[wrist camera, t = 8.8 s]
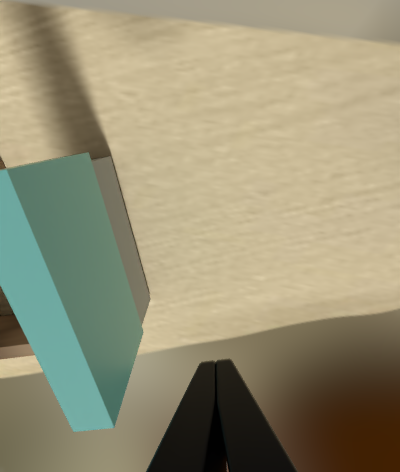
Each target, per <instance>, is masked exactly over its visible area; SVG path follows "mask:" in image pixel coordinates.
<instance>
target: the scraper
mask: <svg viewBox="0 0 400 472" xmlns="http://www.w3.org/2000/svg"><path fill="white" fill-rule="evenodd" d="M0 286H1V288H2V290H3V292H4V294H5V296H6V298H7V300H8V302H9V304H10V306H11V308H12V310H13V312H14V314H15V316H16V318H17V320H18V322H19V324H20V326H21V328H22V330H23V332H24V334H25V336H26V338H27V340H28V342H29V344H30V346H31V348H32V350H33V352H34V354H35V356H36V358H37V360H38V362H39V364H40V366H41V368H42V370H43V372H44V374H45V376H46V378H47V380H48V382H49V384H50V386H51V388H52V390H53V391H54V394H55V396H56V398H57V399H58V402H59V404H60V406H61V408H62V410H63V412H64V414H65V415H66V417H67V420H68V422H69V424H70V426H71V428H72V430H73V431H74V432H76V431H86V430H96V429H106V428H114V427H115V423H116V420H117V417H118V414H119V410H120V407H121V404H122V400H123V397H124V394H125V390H126V387H127V384H128V381H129V377H130V374H131V371H132V368H133V364H134V361H135V358H136V355H137V351H138V348H139V345H140V342H141V338H142V335H143V329H142V323H143V320H144V317H145V314H146V311H147V308H148V305H149V302H150V295H149V292H148V288H147V285H146V281H145V277H144V274H143V270H142V267H141V263H140V259H139V256H138V252H137V249H136V245H135V242H134V238H133V234H132V231H131V227H130V224H129V220H128V216H127V213H126V209H125V206H124V202H123V198H122V195H121V191H120V188H119V184H118V180H117V177H116V173H115V170H114V166H113V162H112V159H111V156H108V157H103V158H97V159H92V160H91V158H90V155H89V152H87V153H82V154H76V155H71V156H65V157H60V158H55V159H49V160H45V161H40V162H35V163H30V164H25V165H20V166H15V167H10V168H5V169H0Z"/></svg>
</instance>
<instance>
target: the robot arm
mask: <svg viewBox="0 0 400 472" xmlns="http://www.w3.org/2000/svg"><path fill="white" fill-rule="evenodd" d="M227 464H228V469H229V472H298V471H297V470H296V468H295V466H294V464H293V463H292V461H291V459H290V458H289V456H288V454H287V453H286V451H285V449H284V448H283V446H282V444H281V442H280V441H279V439H278V437H277V436H276V434H275V432H274V431H273V429H272V427H271V426H270V424H269V422H268V420H267V419H266V417H265V415H264V414H263V412H262V410H261V409H260V407H259V405H258V404H257V402H256V400H255V398H254V397H253V395H252V393H251V392H250V390H249V388H248V387H247V385H246V383H245V381H244V380H243V378H242V376H241V375H240V373H239V371H238V370H237V368H236V366H235V365H234V363H233V361H232V360H231V359H221V360H217V361H216V362H215V361H213V360H212V361H205V362H201V363H200V364H199V366H198V368H197V370H196V372H195V374H194V376H193V378H192V380H191V382H190V384H189V386H188V388H187V390H186V392H185V394H184V396H183V398H182V400H181V402H180V404H179V406H178V408H177V410H176V412H175V414H174V416H173V418H172V420H171V422H170V424H169V426H168V428H167V430H166V432H165V434H164V436H163V438H162V440H161V442H160V444H159V446H158V448H157V451H156V453H155V455H154V457H153V459H152V461H151V463H150V465H149V467H148V469H147V471H146V472H227Z"/></svg>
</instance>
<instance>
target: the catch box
mask: <svg viewBox="0 0 400 472" xmlns="http://www.w3.org/2000/svg"><path fill="white" fill-rule="evenodd" d="M0 169H5V165H4V163H3V161H0ZM31 355H35V354H34V352H33V350H32V348H31V346H30V344H29V342H28V340H27V338H26V336H25V334H24V332H23V330H22V328H21V326H20V324H19V322H18V320H17V318H16V316H15V314H13V315H5V316H0V359H7V358H15V357H23V356H31Z"/></svg>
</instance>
